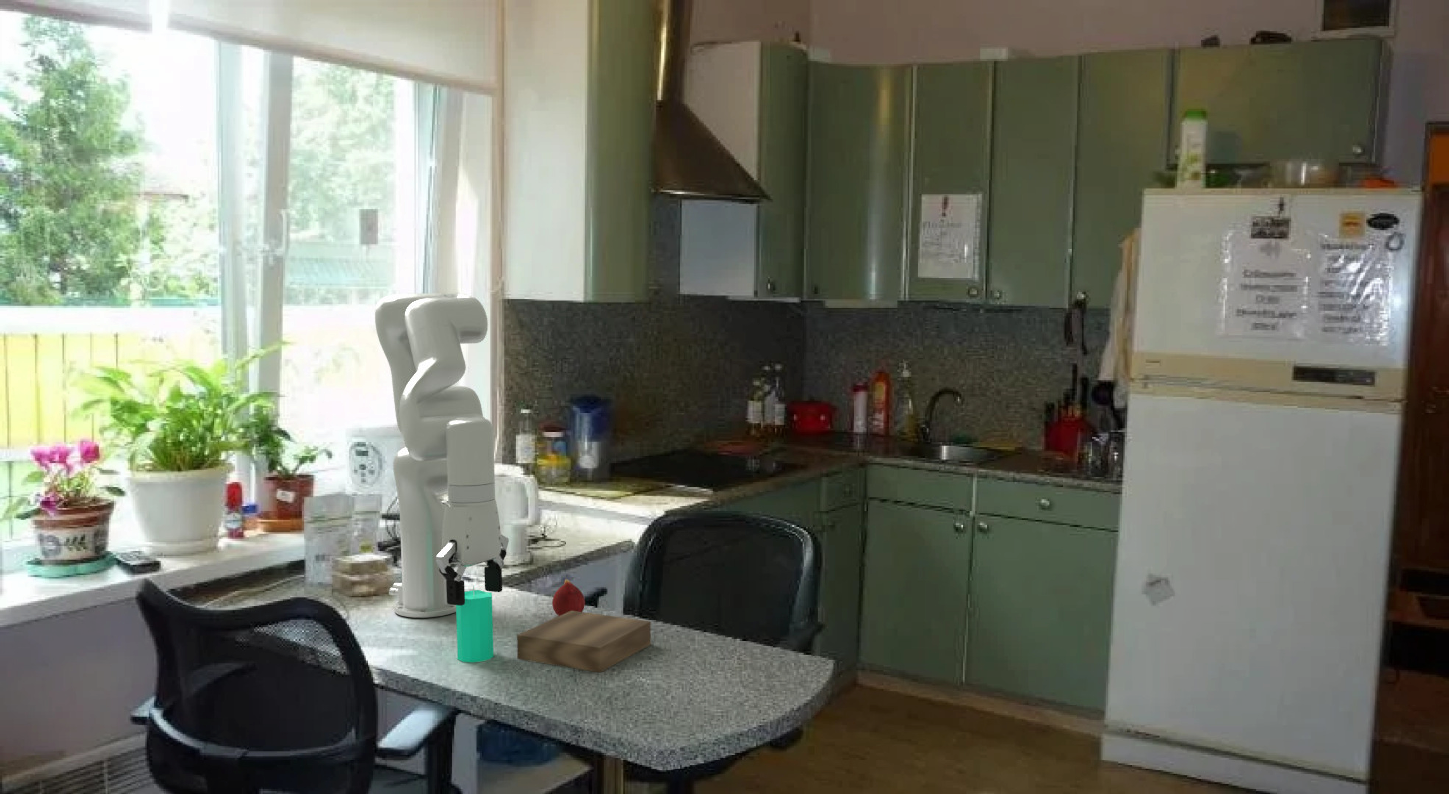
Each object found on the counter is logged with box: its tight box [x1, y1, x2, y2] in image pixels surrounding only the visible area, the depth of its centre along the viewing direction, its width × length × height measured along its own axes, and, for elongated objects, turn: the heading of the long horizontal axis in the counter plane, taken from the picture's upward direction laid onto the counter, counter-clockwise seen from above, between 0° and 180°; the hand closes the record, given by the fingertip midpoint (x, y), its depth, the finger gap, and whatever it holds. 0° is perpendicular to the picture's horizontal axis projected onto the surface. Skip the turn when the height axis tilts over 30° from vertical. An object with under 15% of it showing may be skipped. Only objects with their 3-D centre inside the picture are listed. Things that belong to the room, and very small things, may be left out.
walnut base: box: [516, 611, 652, 673], centre depth 194 cm, size 16×16×4 cm
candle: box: [455, 584, 495, 663], centre depth 191 cm, size 6×6×12 cm
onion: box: [551, 578, 586, 617], centre depth 210 cm, size 6×6×8 cm
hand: (475, 597), depth 190 cm, fingers open, 9 cm apart
